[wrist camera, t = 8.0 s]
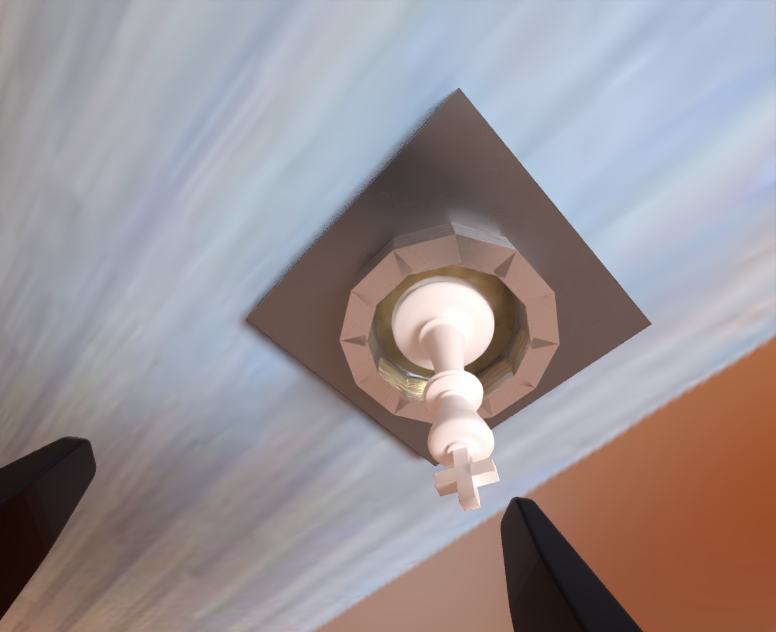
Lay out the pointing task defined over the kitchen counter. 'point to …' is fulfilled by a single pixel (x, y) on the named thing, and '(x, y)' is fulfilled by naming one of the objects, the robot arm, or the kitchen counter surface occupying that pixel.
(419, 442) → the hub plate
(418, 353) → the chess piece
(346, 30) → the kitchen counter surface
